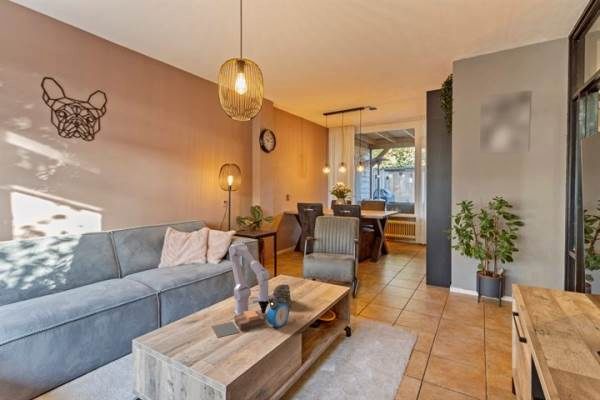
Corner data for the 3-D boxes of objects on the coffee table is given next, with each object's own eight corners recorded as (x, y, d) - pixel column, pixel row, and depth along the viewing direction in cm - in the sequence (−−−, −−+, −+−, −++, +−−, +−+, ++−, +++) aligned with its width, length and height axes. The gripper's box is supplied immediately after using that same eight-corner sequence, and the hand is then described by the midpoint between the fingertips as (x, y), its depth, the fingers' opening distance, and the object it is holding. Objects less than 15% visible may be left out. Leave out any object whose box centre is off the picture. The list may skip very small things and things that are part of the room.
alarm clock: (274, 331, 162) (274, 304, 161) (266, 328, 166) (266, 302, 165) (289, 322, 172) (289, 297, 171) (281, 319, 176) (281, 295, 175)
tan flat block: (234, 322, 172) (234, 315, 172) (256, 317, 179) (256, 310, 179) (240, 331, 162) (241, 324, 161) (264, 325, 169) (264, 318, 168)
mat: (211, 326, 167) (211, 326, 167) (232, 321, 172) (232, 321, 172) (217, 337, 154) (217, 337, 154) (239, 332, 160) (239, 331, 160)
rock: (295, 281, 196) (273, 277, 194) (293, 302, 186) (269, 298, 185) (290, 291, 210) (269, 288, 208) (288, 312, 200) (266, 308, 199)
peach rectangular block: (243, 314, 173) (243, 311, 173) (253, 312, 176) (253, 309, 176) (248, 321, 165) (248, 317, 165) (258, 318, 168) (258, 315, 168)
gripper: (254, 294, 167) (254, 318, 167) (277, 290, 174) (277, 313, 175) (250, 291, 173) (250, 313, 174) (272, 287, 180) (272, 308, 181)
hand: (263, 312), depth 174 cm, fingers closed
